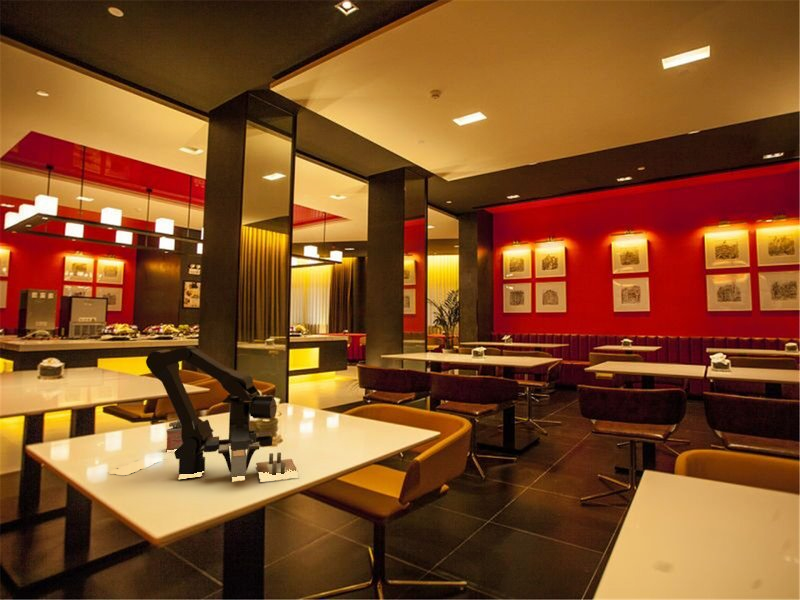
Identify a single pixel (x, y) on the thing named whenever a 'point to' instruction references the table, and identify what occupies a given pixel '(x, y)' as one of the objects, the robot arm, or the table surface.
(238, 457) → the block
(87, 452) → the table surface
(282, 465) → the pin tray
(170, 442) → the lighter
